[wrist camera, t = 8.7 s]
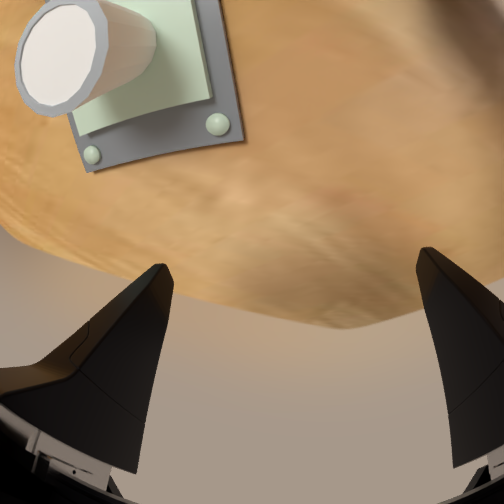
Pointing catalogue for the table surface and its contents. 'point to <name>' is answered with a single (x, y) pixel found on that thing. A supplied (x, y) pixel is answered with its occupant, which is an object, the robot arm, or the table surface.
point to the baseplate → (166, 91)
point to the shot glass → (80, 53)
